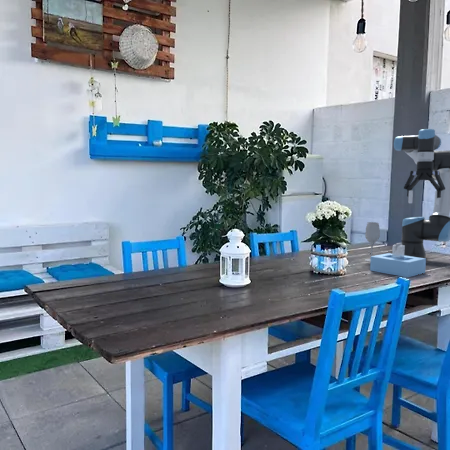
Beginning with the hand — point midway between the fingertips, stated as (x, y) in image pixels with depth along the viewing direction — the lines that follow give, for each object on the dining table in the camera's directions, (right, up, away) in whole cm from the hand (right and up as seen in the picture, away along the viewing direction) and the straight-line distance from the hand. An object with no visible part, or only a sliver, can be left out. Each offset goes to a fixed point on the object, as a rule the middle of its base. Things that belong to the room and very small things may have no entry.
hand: (423, 204), depth 234 cm
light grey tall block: (-14, -32, -4) cm, 36 cm away
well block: (-14, -33, -4) cm, 37 cm away
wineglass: (-18, -30, +25) cm, 43 cm away
